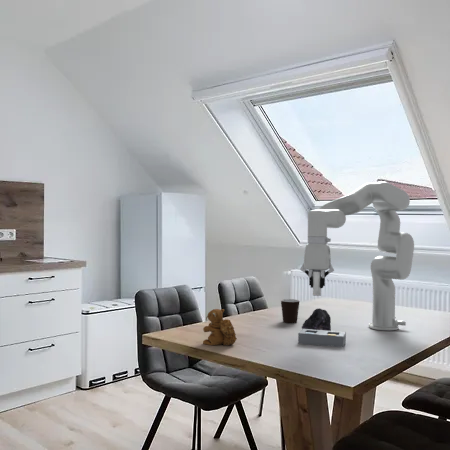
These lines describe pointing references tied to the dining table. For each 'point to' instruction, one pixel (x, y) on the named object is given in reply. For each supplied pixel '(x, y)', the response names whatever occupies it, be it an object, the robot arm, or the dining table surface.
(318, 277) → the plug
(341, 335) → the socket block
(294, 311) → the coffee mug
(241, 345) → the dining table surface
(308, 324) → the black rock
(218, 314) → the stuffed squirrel
